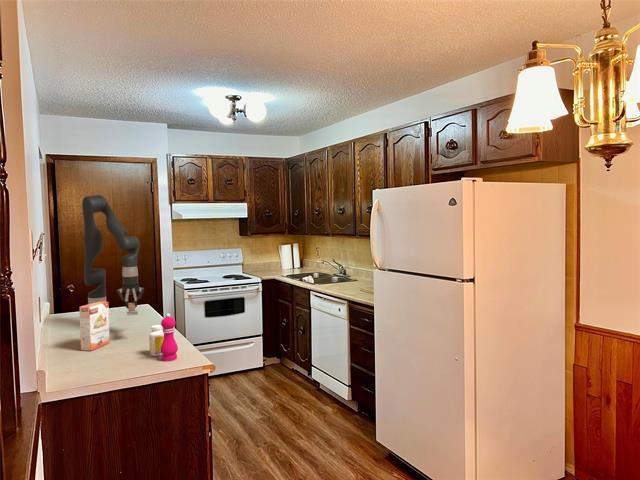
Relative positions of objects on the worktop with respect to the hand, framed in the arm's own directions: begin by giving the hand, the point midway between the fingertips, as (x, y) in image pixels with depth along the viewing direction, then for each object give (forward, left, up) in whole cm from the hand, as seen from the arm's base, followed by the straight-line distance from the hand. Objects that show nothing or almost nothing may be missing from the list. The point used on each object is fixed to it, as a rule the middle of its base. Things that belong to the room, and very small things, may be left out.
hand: (131, 307), depth 247 cm
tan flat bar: (+6, 0, -1) cm, 6 cm away
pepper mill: (+51, +13, -15) cm, 55 cm away
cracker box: (+15, -17, -15) cm, 27 cm away
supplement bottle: (+41, +9, -15) cm, 45 cm away
